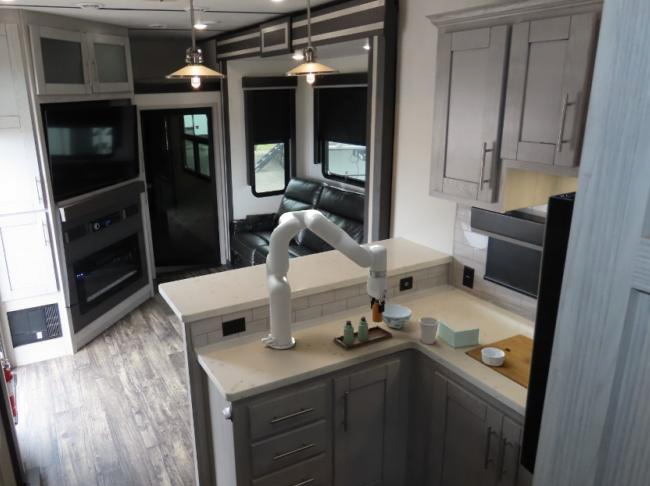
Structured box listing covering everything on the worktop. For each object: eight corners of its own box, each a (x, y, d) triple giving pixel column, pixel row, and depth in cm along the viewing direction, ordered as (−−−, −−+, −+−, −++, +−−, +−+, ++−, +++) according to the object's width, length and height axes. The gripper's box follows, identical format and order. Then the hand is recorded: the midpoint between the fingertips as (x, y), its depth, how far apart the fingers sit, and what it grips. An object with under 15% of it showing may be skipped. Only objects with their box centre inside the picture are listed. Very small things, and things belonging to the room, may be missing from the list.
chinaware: (379, 331, 240) (380, 316, 238) (378, 318, 254) (378, 304, 252) (412, 333, 237) (413, 317, 235) (409, 319, 252) (409, 305, 250)
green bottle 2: (361, 341, 230) (362, 320, 228) (355, 337, 234) (355, 316, 232) (370, 339, 232) (370, 318, 230) (363, 335, 236) (364, 314, 234)
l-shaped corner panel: (478, 344, 224) (479, 328, 222) (453, 347, 222) (454, 332, 220) (461, 332, 236) (462, 317, 234) (438, 336, 233) (439, 321, 231)
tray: (346, 350, 224) (346, 346, 223) (333, 341, 233) (333, 337, 232) (391, 337, 234) (392, 333, 234) (377, 329, 243) (377, 325, 243)
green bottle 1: (347, 346, 227) (347, 324, 224) (341, 341, 231) (341, 320, 228) (355, 343, 229) (355, 322, 226) (349, 339, 233) (349, 318, 230)
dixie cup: (435, 346, 224) (436, 326, 221) (416, 342, 228) (416, 322, 225) (439, 339, 230) (440, 318, 228) (421, 335, 235) (422, 315, 232)
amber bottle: (376, 323, 232) (376, 302, 229) (370, 319, 236) (370, 298, 233) (384, 321, 234) (385, 299, 231) (378, 317, 238) (378, 296, 235)
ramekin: (477, 362, 209) (477, 352, 208) (485, 354, 215) (486, 345, 214) (499, 369, 203) (500, 359, 202) (507, 361, 209) (508, 351, 208)
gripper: (359, 269, 235) (359, 305, 239) (383, 279, 220) (383, 318, 224) (372, 266, 238) (372, 302, 242) (397, 276, 223) (396, 315, 228)
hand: (377, 309), depth 233 cm, fingers closed on amber bottle, 4 cm apart
